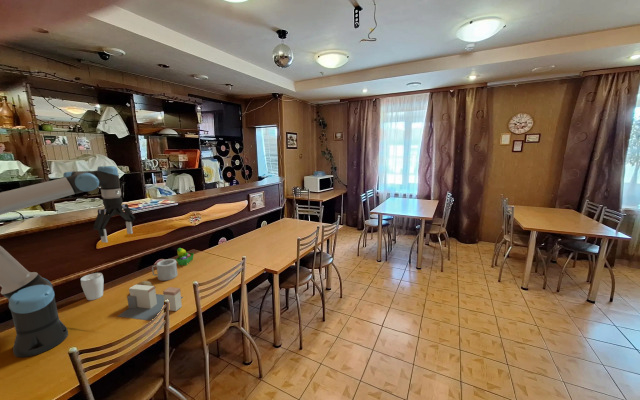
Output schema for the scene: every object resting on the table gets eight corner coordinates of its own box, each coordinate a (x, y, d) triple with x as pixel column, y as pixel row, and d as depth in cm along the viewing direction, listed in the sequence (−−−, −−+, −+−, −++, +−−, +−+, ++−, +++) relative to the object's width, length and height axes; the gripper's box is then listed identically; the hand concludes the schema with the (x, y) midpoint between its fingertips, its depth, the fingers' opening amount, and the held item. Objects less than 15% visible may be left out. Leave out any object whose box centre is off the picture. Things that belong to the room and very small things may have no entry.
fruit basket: (186, 266, 173) (185, 251, 171) (174, 266, 174) (172, 250, 171) (195, 259, 185) (193, 245, 183) (183, 259, 185) (181, 244, 183)
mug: (179, 271, 165) (177, 257, 164) (175, 279, 155) (174, 264, 154) (155, 274, 161) (154, 260, 159) (150, 282, 151) (148, 267, 149)
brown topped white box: (176, 311, 123) (174, 292, 121) (165, 309, 124) (163, 291, 122) (182, 306, 127) (180, 288, 125) (171, 305, 128) (169, 287, 126)
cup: (92, 302, 131) (89, 281, 129) (79, 300, 133) (75, 279, 130) (110, 293, 140) (107, 273, 137) (97, 291, 141) (93, 271, 139)
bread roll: (152, 299, 141) (158, 285, 142) (131, 299, 133) (137, 284, 134) (148, 292, 147) (153, 279, 148) (127, 292, 140) (133, 278, 141)
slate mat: (154, 322, 116) (154, 320, 116) (117, 317, 119) (117, 316, 119) (183, 297, 136) (183, 296, 136) (151, 294, 139) (150, 293, 139)
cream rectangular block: (149, 310, 124) (146, 291, 122) (128, 307, 126) (125, 289, 124) (159, 302, 131) (156, 284, 129) (139, 300, 132) (137, 282, 130)
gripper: (91, 202, 112) (99, 246, 116) (140, 193, 136) (144, 230, 140) (78, 201, 113) (85, 245, 117) (128, 193, 138) (133, 229, 142)
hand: (118, 237), depth 129 cm, fingers open, 13 cm apart
